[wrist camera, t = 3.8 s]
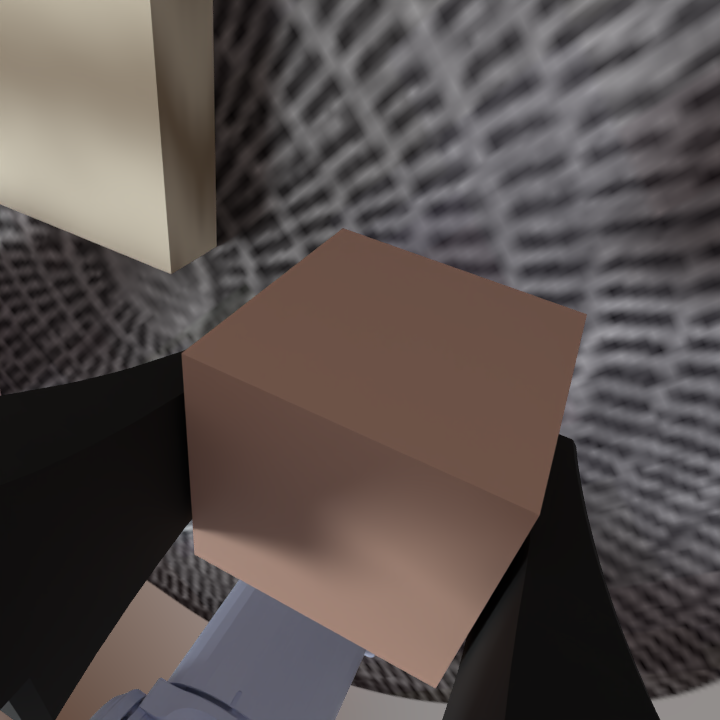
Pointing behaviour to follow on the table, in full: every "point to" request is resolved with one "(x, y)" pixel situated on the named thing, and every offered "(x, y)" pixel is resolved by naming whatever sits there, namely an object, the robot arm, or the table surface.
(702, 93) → the table surface
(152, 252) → the birch block
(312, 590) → the terracotta cube
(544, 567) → the robot arm
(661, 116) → the table surface
